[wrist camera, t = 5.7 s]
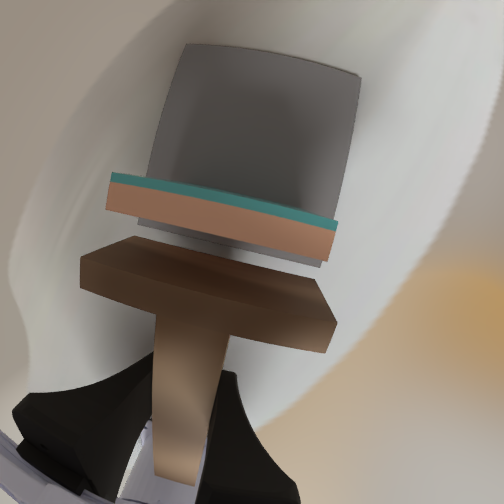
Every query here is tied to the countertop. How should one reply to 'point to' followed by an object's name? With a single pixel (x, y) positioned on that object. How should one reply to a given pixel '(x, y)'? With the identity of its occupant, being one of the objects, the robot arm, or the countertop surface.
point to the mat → (256, 132)
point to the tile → (223, 214)
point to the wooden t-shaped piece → (201, 329)
